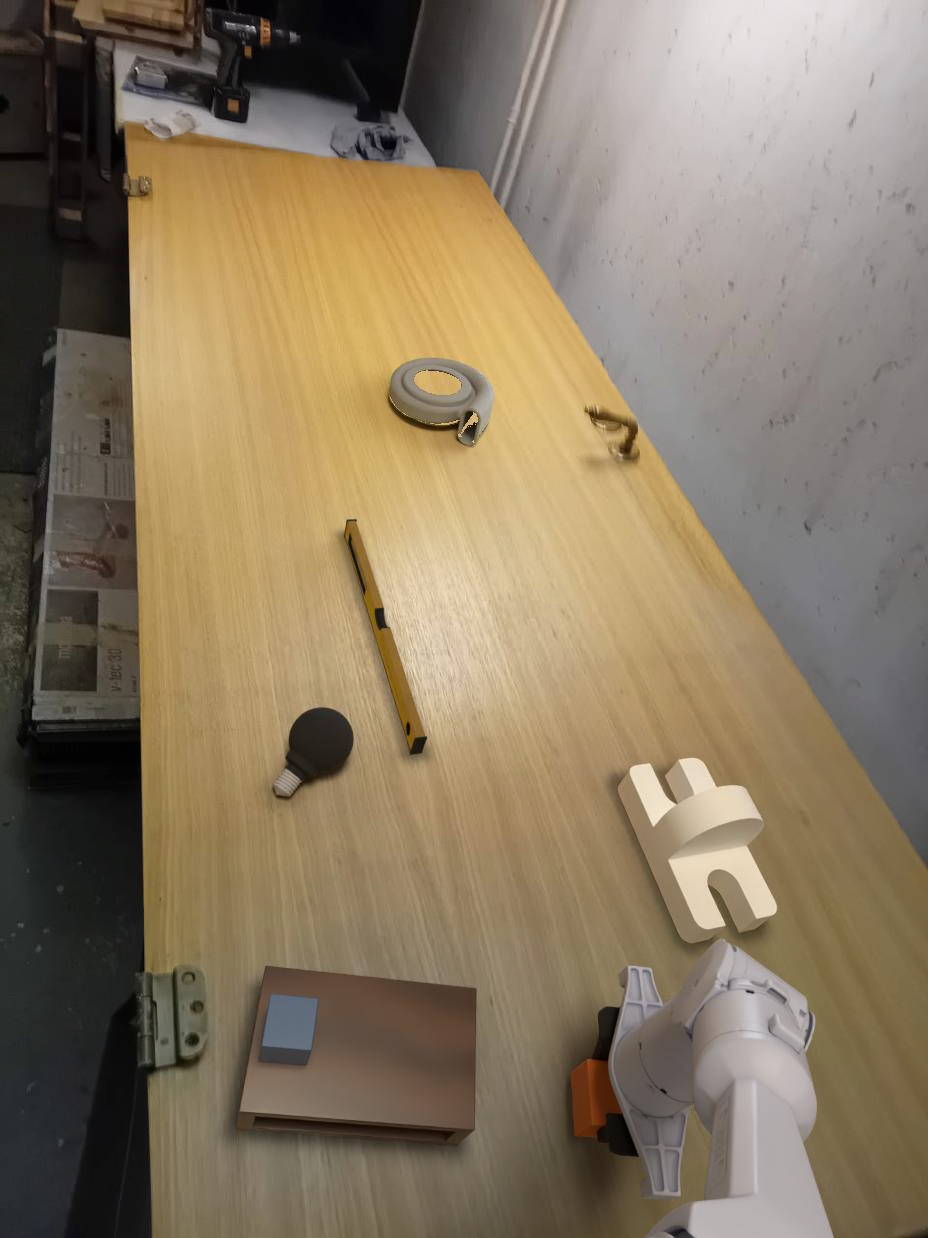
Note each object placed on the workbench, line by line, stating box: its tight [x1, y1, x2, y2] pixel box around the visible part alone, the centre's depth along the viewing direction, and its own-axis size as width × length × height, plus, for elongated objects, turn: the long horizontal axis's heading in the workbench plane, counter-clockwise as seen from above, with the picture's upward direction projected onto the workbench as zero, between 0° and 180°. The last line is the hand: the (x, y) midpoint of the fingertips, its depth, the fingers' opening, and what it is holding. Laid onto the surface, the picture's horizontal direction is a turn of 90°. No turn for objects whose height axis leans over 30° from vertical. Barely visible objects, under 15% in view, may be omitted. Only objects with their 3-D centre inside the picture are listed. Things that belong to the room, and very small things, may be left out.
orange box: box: [570, 1058, 623, 1139], centre depth 64 cm, size 4×4×4 cm
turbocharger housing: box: [388, 357, 495, 447], centre depth 129 cm, size 17×6×15 cm
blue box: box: [259, 994, 319, 1065], centre depth 59 cm, size 4×4×4 cm
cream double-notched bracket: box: [616, 757, 778, 944], centre depth 83 cm, size 10×18×11 cm, turn 15°
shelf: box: [236, 965, 477, 1147], centre depth 64 cm, size 10×17×6 cm, turn 88°
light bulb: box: [272, 706, 355, 797], centre depth 81 cm, size 6×6×10 cm
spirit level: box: [343, 518, 428, 755], centre depth 96 cm, size 33×1×3 cm, turn 17°
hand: (606, 1101), depth 64 cm, fingers closed on orange box, 4 cm apart
